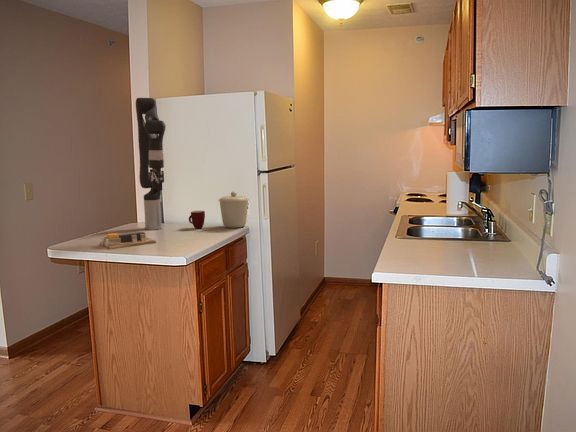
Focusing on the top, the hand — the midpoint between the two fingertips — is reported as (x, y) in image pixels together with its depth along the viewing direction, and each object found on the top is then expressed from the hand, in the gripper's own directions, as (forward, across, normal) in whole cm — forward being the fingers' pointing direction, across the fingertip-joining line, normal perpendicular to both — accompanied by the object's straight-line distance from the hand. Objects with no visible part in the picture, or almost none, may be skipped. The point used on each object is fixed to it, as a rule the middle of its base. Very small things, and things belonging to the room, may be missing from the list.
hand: (157, 189), depth 267 cm
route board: (+25, +8, -19) cm, 33 cm away
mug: (+26, -11, +27) cm, 39 cm away
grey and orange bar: (+24, +8, -19) cm, 32 cm away
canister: (+26, -2, +48) cm, 54 cm away
